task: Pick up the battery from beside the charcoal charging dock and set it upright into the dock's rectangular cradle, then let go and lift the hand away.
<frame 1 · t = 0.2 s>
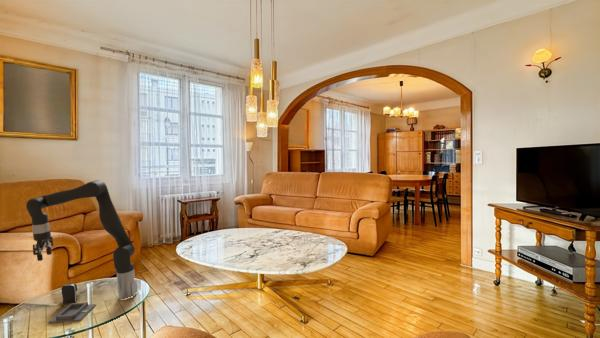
hand: (45, 257, 166), 28 cm above the table, tool pointing down, fingers open, 8 cm apart
battery: (71, 302, 170), on the table
dock: (73, 314, 158), on the table
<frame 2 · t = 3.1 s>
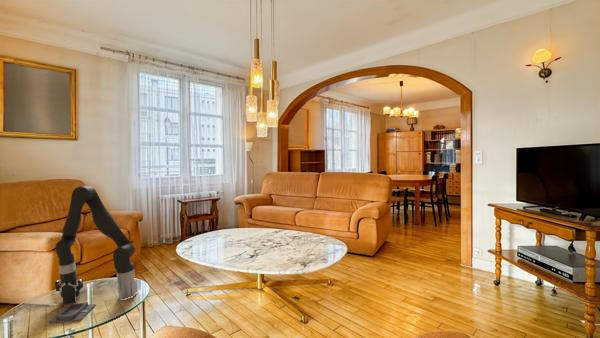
hand: (70, 296, 170), 3 cm above the table, tool pointing down, fingers closed on battery, 7 cm apart
battery: (71, 302, 170), on the table, touching gripper
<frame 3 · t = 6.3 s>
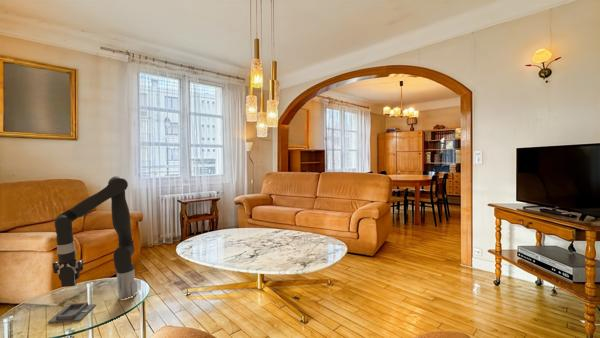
hand: (69, 279, 156), 21 cm above the table, tool pointing down, fingers closed on battery, 7 cm apart
battery: (70, 285, 156), point 17 cm above the table, touching gripper
when the fingers open (6 cm above the table, at t = 9.7 s): battery drops 1 cm, resting on dock.
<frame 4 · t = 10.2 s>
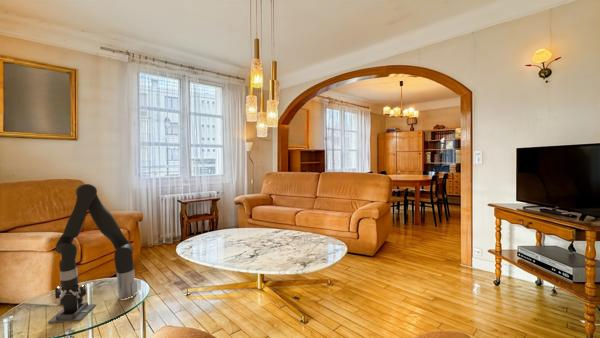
hand: (71, 304, 158), 6 cm above the table, tool pointing down, fingers open, 8 cm apart
battery: (72, 313, 158), point 1 cm above the table, touching dock
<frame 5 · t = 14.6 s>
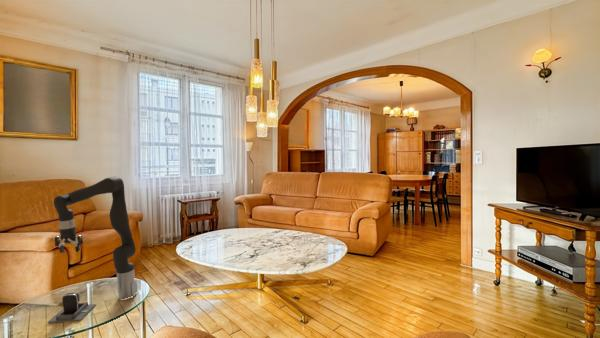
hand: (70, 252, 174), 28 cm above the table, tool pointing down, fingers open, 8 cm apart
nothing on the table moved.
at the end: battery 0.2 cm off-centre on the dock, point 0.8 cm above the dock's base; battery tilted 0°; the gripper is holding nothing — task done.
